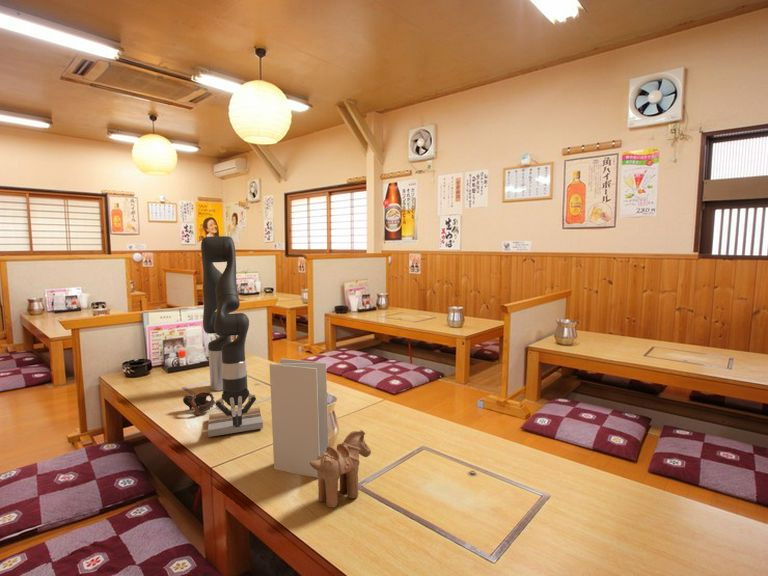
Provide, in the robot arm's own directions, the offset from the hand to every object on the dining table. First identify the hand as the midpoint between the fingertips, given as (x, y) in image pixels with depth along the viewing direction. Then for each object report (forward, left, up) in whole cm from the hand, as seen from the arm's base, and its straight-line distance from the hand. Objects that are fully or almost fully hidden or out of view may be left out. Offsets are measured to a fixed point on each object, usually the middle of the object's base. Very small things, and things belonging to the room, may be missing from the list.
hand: (237, 426), depth 138 cm
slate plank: (-3, -1, -2) cm, 4 cm away
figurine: (+45, +23, -3) cm, 51 cm away
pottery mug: (-26, -13, -3) cm, 29 cm away
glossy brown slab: (-11, -1, -3) cm, 12 cm away
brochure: (+29, +16, -3) cm, 33 cm away
